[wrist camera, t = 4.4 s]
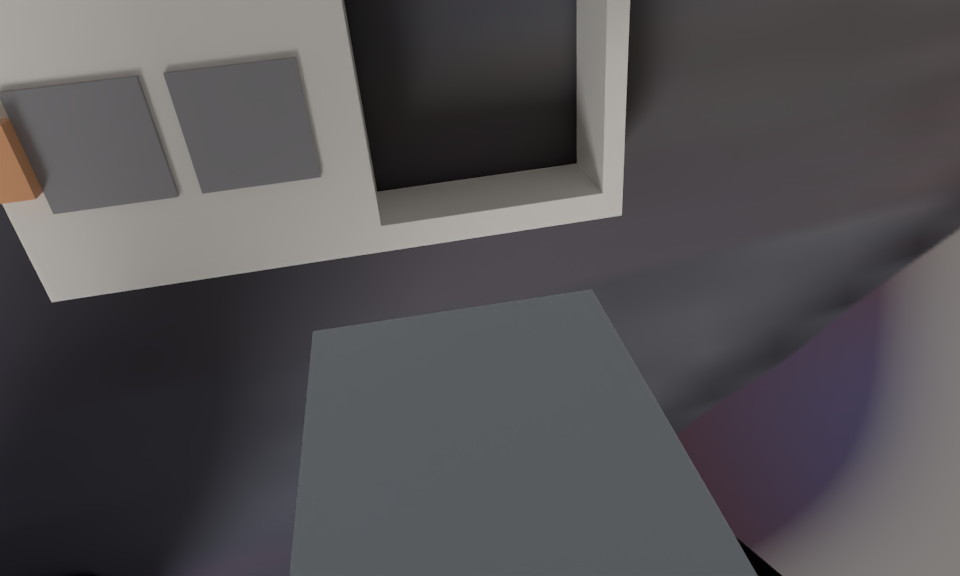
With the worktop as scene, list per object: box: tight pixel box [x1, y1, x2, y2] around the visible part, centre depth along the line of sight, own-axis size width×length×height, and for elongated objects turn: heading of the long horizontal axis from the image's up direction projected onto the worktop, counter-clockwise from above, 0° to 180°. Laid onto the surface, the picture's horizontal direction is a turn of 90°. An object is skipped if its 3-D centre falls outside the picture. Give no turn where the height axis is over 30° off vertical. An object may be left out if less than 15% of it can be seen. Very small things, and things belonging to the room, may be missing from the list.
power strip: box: [0, 0, 630, 302], centre depth 17 cm, size 16×8×3 cm, turn 94°
